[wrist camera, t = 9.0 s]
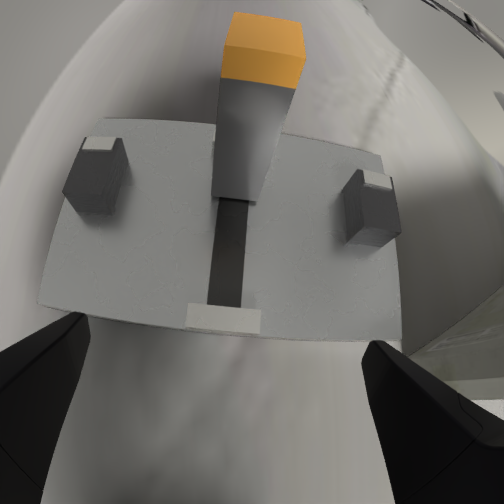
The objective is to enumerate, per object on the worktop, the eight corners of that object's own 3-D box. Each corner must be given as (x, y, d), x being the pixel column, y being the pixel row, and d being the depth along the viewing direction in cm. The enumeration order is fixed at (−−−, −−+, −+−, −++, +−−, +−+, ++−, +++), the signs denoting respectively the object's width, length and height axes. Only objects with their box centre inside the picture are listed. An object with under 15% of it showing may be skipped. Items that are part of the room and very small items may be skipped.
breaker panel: (393, 341, 18) (427, 333, 14) (44, 306, 15) (14, 292, 12) (375, 162, 23) (396, 135, 19) (101, 127, 20) (91, 94, 17)
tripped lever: (257, 201, 18) (306, 58, 9) (210, 195, 18) (224, 45, 8) (260, 159, 19) (300, 22, 10) (217, 154, 19) (234, 12, 10)
